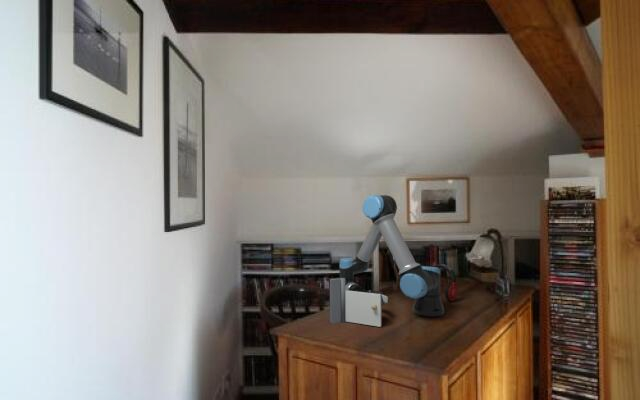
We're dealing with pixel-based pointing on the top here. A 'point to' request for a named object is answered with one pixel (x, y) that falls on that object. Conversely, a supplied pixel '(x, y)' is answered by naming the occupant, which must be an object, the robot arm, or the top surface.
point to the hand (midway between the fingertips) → (374, 301)
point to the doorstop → (381, 298)
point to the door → (363, 308)
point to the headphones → (451, 289)
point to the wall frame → (337, 300)
